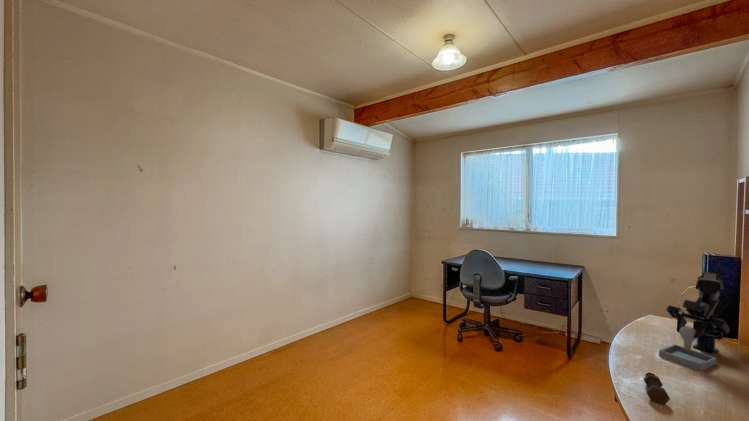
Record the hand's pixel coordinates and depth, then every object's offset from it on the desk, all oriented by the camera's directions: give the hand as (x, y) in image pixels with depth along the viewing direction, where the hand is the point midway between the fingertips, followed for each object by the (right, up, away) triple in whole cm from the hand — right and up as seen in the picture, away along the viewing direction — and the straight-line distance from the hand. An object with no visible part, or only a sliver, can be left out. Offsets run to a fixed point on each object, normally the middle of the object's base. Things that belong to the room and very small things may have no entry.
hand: (686, 334), depth 131 cm
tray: (+1, -11, +1) cm, 11 cm away
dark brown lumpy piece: (-32, -12, -21) cm, 40 cm away
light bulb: (+1, -7, +1) cm, 7 cm away
